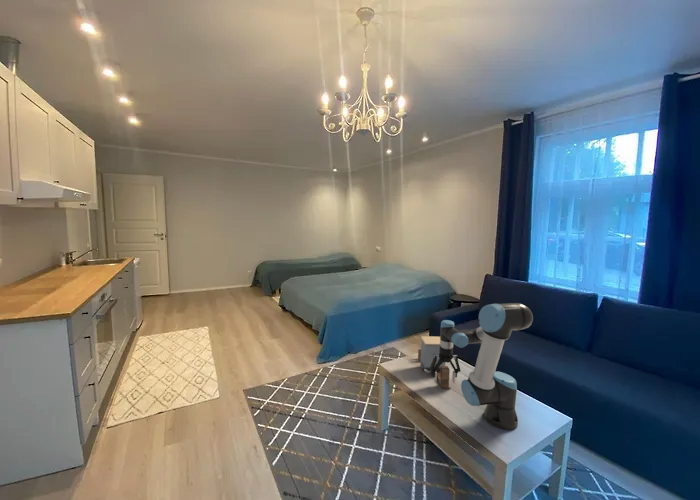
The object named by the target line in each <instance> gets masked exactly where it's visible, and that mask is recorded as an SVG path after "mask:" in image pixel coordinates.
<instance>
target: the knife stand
mask: <svg viewBox="0 0 700 500" xmlns="http://www.w3.org/2000/svg"><path fill="white" fill-rule="evenodd" d="M417 352H418V353H417V359H418V362H420V361H421V348H419V349H418V351H417Z"/></svg>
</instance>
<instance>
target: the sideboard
mask: <svg viewBox="0 0 700 500" xmlns="http://www.w3.org/2000/svg"><path fill="white" fill-rule="evenodd" d="M420 339H421V345H420V349H421V361H419V362H420V365H419V366H420V369H424V368H430V366H431V363H432V361H433V358H434V354H435V355H439V350H440V336H434V335H433V336H432V335H431V336H430V335H429V336H426V335H425V336H423V335H422V336H420ZM439 359H440V358H439V357H438V359H437V361H436V364H437V362H438V361H439ZM436 364H435V365H436ZM441 366H446V362H443V363H442V364H441V365H440V366H439V368H438V369H437V371H441Z"/></svg>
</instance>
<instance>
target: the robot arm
mask: <svg viewBox="0 0 700 500" xmlns="http://www.w3.org/2000/svg"><path fill="white" fill-rule="evenodd" d="M478 320H479V321H478V324H479V327H476V328H474V329H462V330H458V329H456V327H455V322H454V321H452V320H449V319H444V320H442V321H441V322H440V329H439V330H440V333H439V335H440V336H439V337H440V350H439V355H435V354H434V358H433V361H432V363H431V366H430V370H431V371H432V377H433V382H434V384H437V381H438V379H437V372H436V371H438V368H439V366H440V365H441V364H442V363H443V362H445V363H449V364H450V365H451V367H452V369H453V370H452V379H451V382H452V383H453V384H456V378H458V374H459V373H460V372H461V367H460V362H459V356H458V355H457V354H454V345H455V346H456V347H458V348H460V349H461V348H465V347H467V346H468V345H471V344H480V347H479V351H478V355H477V358H476V362H475V365H474V370H472V371H471V372H470V373H469V375H468V378H467V379H466V378H465V379H464V380H462V381H461V382H460V383H461V384H460V388H461V393H462V396H463V398H464V400H465V401H466V402H467V404H468V405H470V406H472V407H479V406H485V405H486V406H485V408H484V412H483V416H484V418H485V420H486V421H487V422H488V423H489V424H491V425H492V426H493V427H496V428H499V429H502V430H510V431H511V430H515V429H517V427H518V425H519V417H518V415H517V411H516V400H517V392H518V391H517V390H518V388H517V385H518V384H517V380H516V379H515V378H514V377H513V376H511V375H509V374H507V373H505V372H502V371H496V370H497V366H498V364H499V360H500V357H501V353H502V351H503V346H504V344H505V341H507V340H509V339H510V338H511V334H512V332H513V331H516V332H518V331H521V330H525V329H528V328H530V326H532V323H533V321H534V315H533V312H532V311H531V309H530V308H529V307H528V306H527V305H524V304H522V303H519V302H511V303H510V302H508V303H507V302H506V303H491V304H486V305H484V306H483V307H481V309H480V310H479V313H478ZM438 357H439V358H440V359H439V361H438V362H437V364H436V361H437V359H438ZM453 359H454V363H455V364H454V363H453V361H452V360H453ZM435 364H436V365H435Z"/></svg>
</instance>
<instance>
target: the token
mask: <svg viewBox="0 0 700 500" xmlns="http://www.w3.org/2000/svg"><path fill="white" fill-rule="evenodd" d="M423 372H424V373H426V374H433V372H432V371H431V370H430V368H423Z"/></svg>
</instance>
